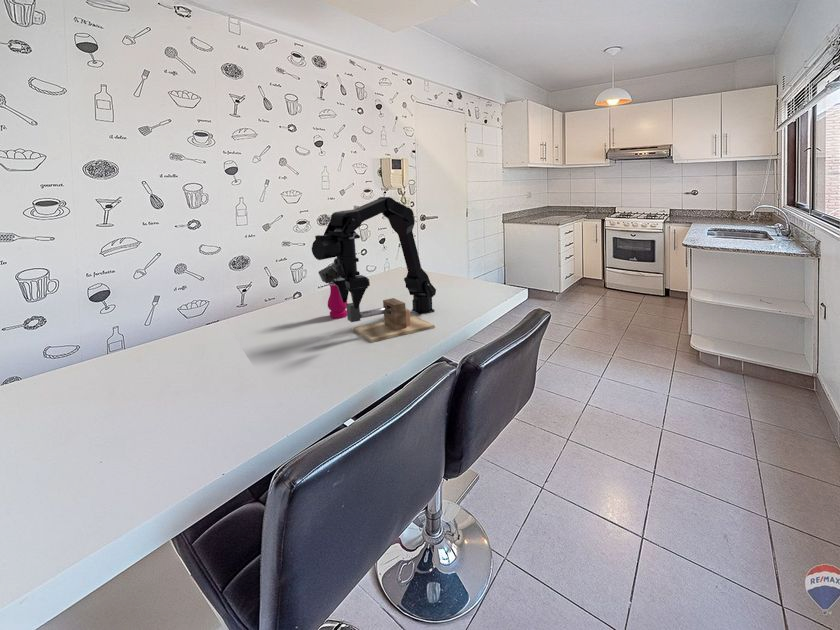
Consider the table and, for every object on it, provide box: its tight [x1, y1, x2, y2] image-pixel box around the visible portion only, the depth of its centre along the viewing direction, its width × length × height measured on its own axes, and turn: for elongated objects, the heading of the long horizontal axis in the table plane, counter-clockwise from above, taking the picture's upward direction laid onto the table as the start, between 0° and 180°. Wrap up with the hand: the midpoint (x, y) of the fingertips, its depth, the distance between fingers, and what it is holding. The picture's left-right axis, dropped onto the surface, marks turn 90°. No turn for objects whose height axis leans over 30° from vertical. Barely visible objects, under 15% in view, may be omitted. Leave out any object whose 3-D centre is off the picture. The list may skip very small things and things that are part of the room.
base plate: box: [353, 314, 436, 343], centre depth 148 cm, size 23×14×1 cm, turn 120°
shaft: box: [346, 302, 391, 323], centre depth 142 cm, size 16×3×5 cm, turn 120°
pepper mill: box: [327, 261, 348, 319], centre depth 162 cm, size 7×7×20 cm
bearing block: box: [382, 297, 407, 330], centre depth 147 cm, size 4×8×8 cm, turn 30°
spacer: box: [406, 308, 411, 327], centre depth 149 cm, size 2×5×5 cm, turn 30°
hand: (350, 305), depth 138 cm, fingers open, 9 cm apart
